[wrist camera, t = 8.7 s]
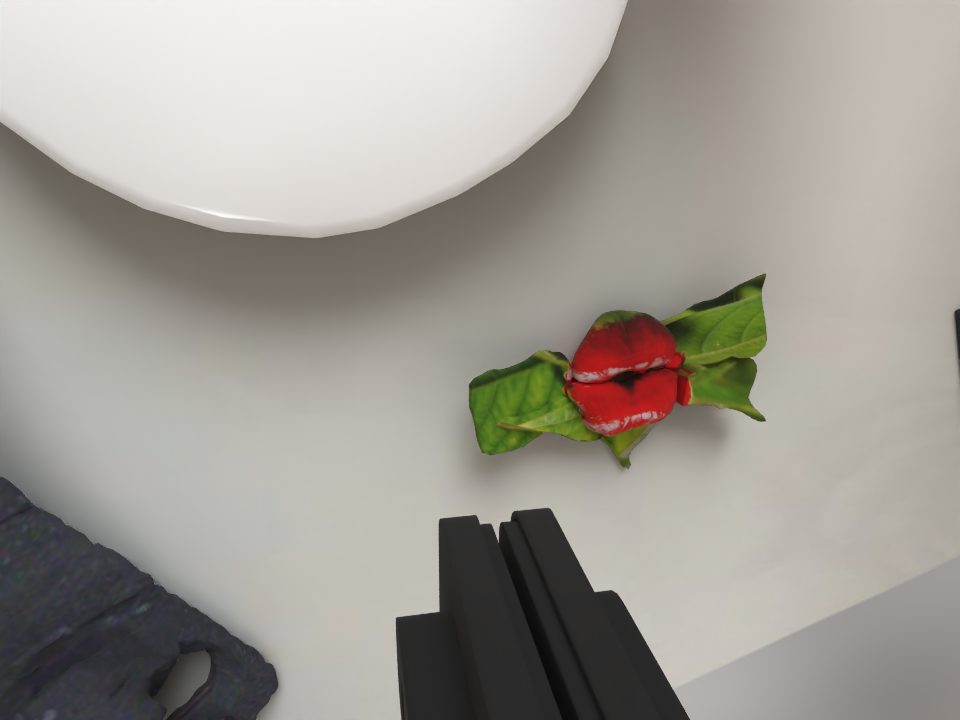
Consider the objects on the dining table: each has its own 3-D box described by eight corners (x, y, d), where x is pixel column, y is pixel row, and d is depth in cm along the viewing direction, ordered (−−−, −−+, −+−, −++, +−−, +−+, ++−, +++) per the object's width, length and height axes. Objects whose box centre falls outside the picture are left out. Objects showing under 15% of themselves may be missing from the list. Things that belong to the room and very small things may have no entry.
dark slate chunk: (-4, 402, 30) (2, 406, 26) (293, 685, 39) (329, 718, 35) (-432, 700, 23) (-507, 764, 19) (52, 969, 31) (65, 1050, 27)
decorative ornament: (776, 272, 31) (788, 465, 34) (716, 262, 35) (732, 433, 38) (464, 352, 28) (507, 556, 31) (442, 331, 32) (481, 511, 35)
